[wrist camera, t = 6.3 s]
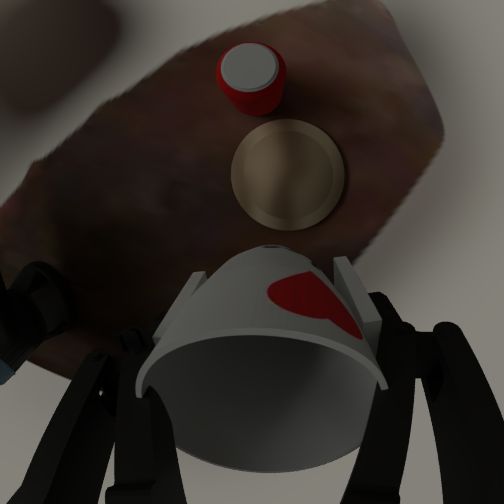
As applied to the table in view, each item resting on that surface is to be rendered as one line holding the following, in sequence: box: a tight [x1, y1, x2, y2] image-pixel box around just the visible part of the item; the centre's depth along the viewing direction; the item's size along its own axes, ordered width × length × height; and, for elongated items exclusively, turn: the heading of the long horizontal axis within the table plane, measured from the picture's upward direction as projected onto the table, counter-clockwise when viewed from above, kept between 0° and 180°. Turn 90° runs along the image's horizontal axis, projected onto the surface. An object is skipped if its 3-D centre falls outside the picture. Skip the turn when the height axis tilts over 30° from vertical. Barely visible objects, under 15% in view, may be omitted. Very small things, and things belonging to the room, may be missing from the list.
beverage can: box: [216, 42, 286, 116], centre depth 24 cm, size 6×6×12 cm
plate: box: [231, 119, 345, 231], centre depth 33 cm, size 14×14×1 cm
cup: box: [136, 245, 388, 473], centre depth 12 cm, size 8×8×10 cm
